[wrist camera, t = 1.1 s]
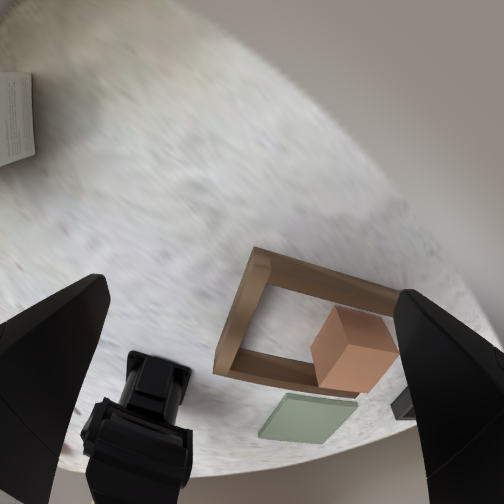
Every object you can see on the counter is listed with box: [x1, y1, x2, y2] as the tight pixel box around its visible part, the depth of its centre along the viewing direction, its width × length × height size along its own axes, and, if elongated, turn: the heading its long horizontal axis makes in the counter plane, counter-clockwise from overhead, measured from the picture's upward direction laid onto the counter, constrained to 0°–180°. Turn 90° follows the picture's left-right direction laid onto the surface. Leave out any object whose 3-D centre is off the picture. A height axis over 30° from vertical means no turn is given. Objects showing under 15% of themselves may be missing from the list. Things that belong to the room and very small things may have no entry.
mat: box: [258, 393, 358, 444], centre depth 32 cm, size 9×9×1 cm
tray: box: [391, 386, 416, 420], centre depth 30 cm, size 8×8×2 cm
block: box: [311, 305, 400, 393], centre depth 24 cm, size 5×5×5 cm
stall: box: [212, 247, 400, 399], centre depth 25 cm, size 11×14×3 cm
